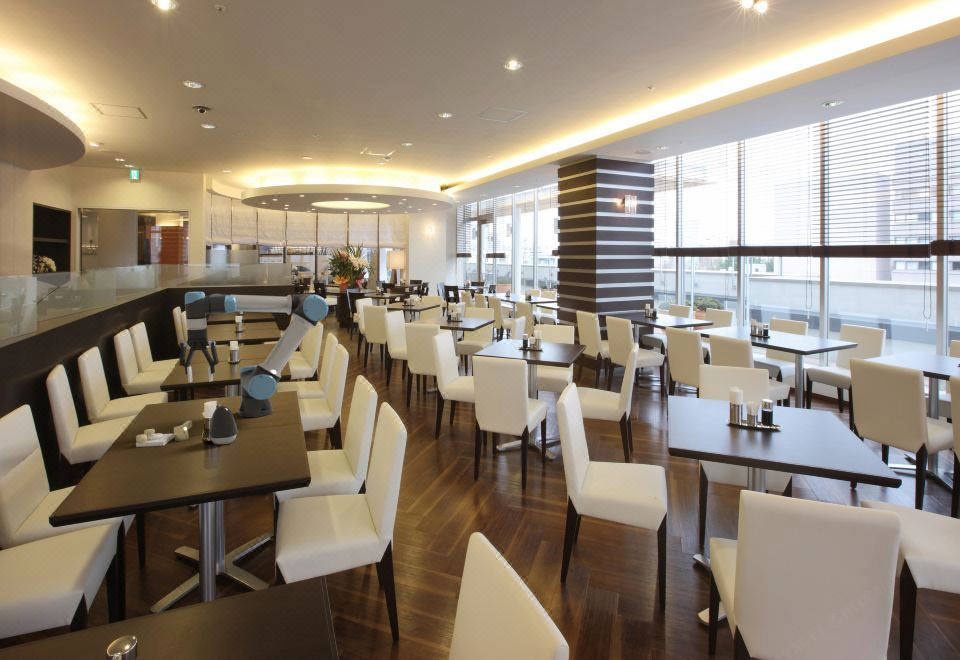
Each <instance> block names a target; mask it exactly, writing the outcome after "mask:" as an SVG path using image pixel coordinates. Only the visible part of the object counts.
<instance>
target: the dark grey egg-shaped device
mask: <svg viewBox="0 0 960 660" xmlns="http://www.w3.org/2000/svg"><path fill="white" fill-rule="evenodd" d="M215 407H216V408H215V409H214V411H213V412H212V413H213V414H212V416H211V420H210V424H209V430H208V432H209V433H208V435H209V438H210V441H211V442H213V444H215V445H229V444H231V443H232V442H234V441H235V439H236V437H237V434H238V428H237V427H238V426H237V423H236V420H235V417H234V415H233V412H232V411H231V409H230V408H229V407H227V406H226V405H220V406H219V405H216V406H215Z"/></svg>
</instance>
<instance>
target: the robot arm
mask: <svg viewBox="0 0 960 660" xmlns="http://www.w3.org/2000/svg"><path fill="white" fill-rule="evenodd" d="M184 308H185V321H186V323H185V324H186V328H187V330H186V333H187V334H186V335H187V340H186V341H182V342H180V343H179V346H180V353H179V355H180V357H179V366H180V367H184V373H185V375H187V380H188V381H187V382H188V383H192V382H193V380H194V379H193V371H192V370H193V369H192V368H193V367H192V365H191V362H192V359H193V356H194V355H195V352H196V351H201V352H202V353H203V355H204V357H205V359H206V361H207V363H208V364H209V365H208V366H207V370H208V371H207V373H208V382H209V383H211V382H212V381H214V375H213V374H215V366H216V365H218V364H219V363H220V361H219V356H218V353H217V347H216V345H217V342H216V341H215V340H213V341H211V340H209V338H208V328H207V324H208V323H207V315H211V314H212V315H213V314H229V313H235V312H249V313H250V312H252V313H253V312H255V313H256V312H257V313H258V312H259V313H286V314H287V315H288V316H289V315H292V317H293V319H292V320H291V322H290V323H289V325H288V326H287V327H286V329H285V331H284V332H283V334H282V335H281V337H280V338H279V339H278V341H277V342H276V344H275V345H274V347H273V348H272V350H271V351H270V353H269V354H268V356H267V357H266V358H265V360H264V361H263V362H262V363H258V364H257V365H254V364H253V365H248V366H242V367H241V368H240V370H239V376H240V393H241V400H240V403H239V407H238V416H239V417H242V418H258V417H264V416H268V415H270V414H272V413H273V410H274V408H273V405H272V402H271V400H270V398H271V397H272V396H273V395H274V394H275V392H276V391H277V387H278V386H277V385H278V383H279V381H280V380H281V378H282V374H281V372H282V371H283V369H284V368H285V366H286V365H287V363H288V362H289V360H290V359H291V357H292V356H293V355H294V353H295V352H296V350H297V349H298V347H299V346H300V345H301V342H302V341H303V340H304V338H306V335H307V334H308V332H309V331H310V329H313V328H316V326H317V324H319V322H320V321H322V320H324V319H325V317H327V315H328V313H329V304H328V302H327V300H326V299H325V298H323V297H322V296H320V295H319V294H311V293H301V294H288V295H287V296H281V295H280V296H275V295H254V294H253V295H251V294H249V295H247V294H223V293H222V294H220V293H213V294H210V295H205V292H204V291H187V292H186V293H185V294H184ZM208 345H209V347H210V351H211V354H210V352H209V349H208V347H207V346H208ZM187 347H189V351H188V355H187V354H186V353H187ZM186 355H187V356H186ZM211 355H212V356H211Z"/></svg>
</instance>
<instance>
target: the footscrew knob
mask: <svg viewBox="0 0 960 660" xmlns="http://www.w3.org/2000/svg"><path fill="white" fill-rule="evenodd" d="M192 427H193V420H187V421H185V422H184V423H182V425H176V426H174V427H173V434H174V438H173V439H174V441H175V442H183V441H186V440H189V439H190V438H189V429H191V428H192Z"/></svg>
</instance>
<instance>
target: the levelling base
mask: <svg viewBox="0 0 960 660" xmlns="http://www.w3.org/2000/svg"><path fill="white" fill-rule="evenodd" d="M155 430H156V429H155V428H148V429H147V428H146V429H144V430H143V434H137V435H136V436H135V439H136V443H135V446H136V448H139V447H142V448H143V447H158V446H165V445H167V444H168V443H169V442H170V441H172V439H175V438H174V433H159V432H157V433H156V431H155Z"/></svg>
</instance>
